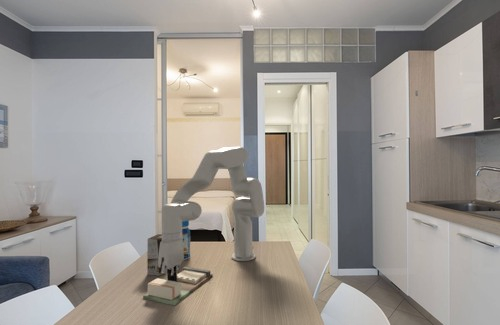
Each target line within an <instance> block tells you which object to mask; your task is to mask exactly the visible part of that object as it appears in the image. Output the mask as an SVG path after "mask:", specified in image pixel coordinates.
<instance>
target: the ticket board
mask: <svg viewBox="0 0 500 325" xmlns="http://www.w3.org/2000/svg"><path fill="white" fill-rule="evenodd" d="M213 275H214V274H212V273H211V270H209V269H204V268H198V267H192V266H184V267H182V271H181V272H179V273H177V282H180V283H181V294H180V295H178V296H177V297H176V298H174V299H173V300H170V299H165V298H161V297H156V296H152V295H148V292H146V293H145V294H143V295H142V298H143V299H145V300H149V301H153V302H157V303H162V304H167V305H171V306H177V304H179V303H180V302H181V301H183V300H184V299H185V298H186V297H188V296H189V295H190V294H192V293H193V292H194V291H195V290H196V289H198V288H199V287H201V286H202V285H203V284H204V283H206V282H207V281H209V280H210V279H211V278H212V277H213Z"/></svg>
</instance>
